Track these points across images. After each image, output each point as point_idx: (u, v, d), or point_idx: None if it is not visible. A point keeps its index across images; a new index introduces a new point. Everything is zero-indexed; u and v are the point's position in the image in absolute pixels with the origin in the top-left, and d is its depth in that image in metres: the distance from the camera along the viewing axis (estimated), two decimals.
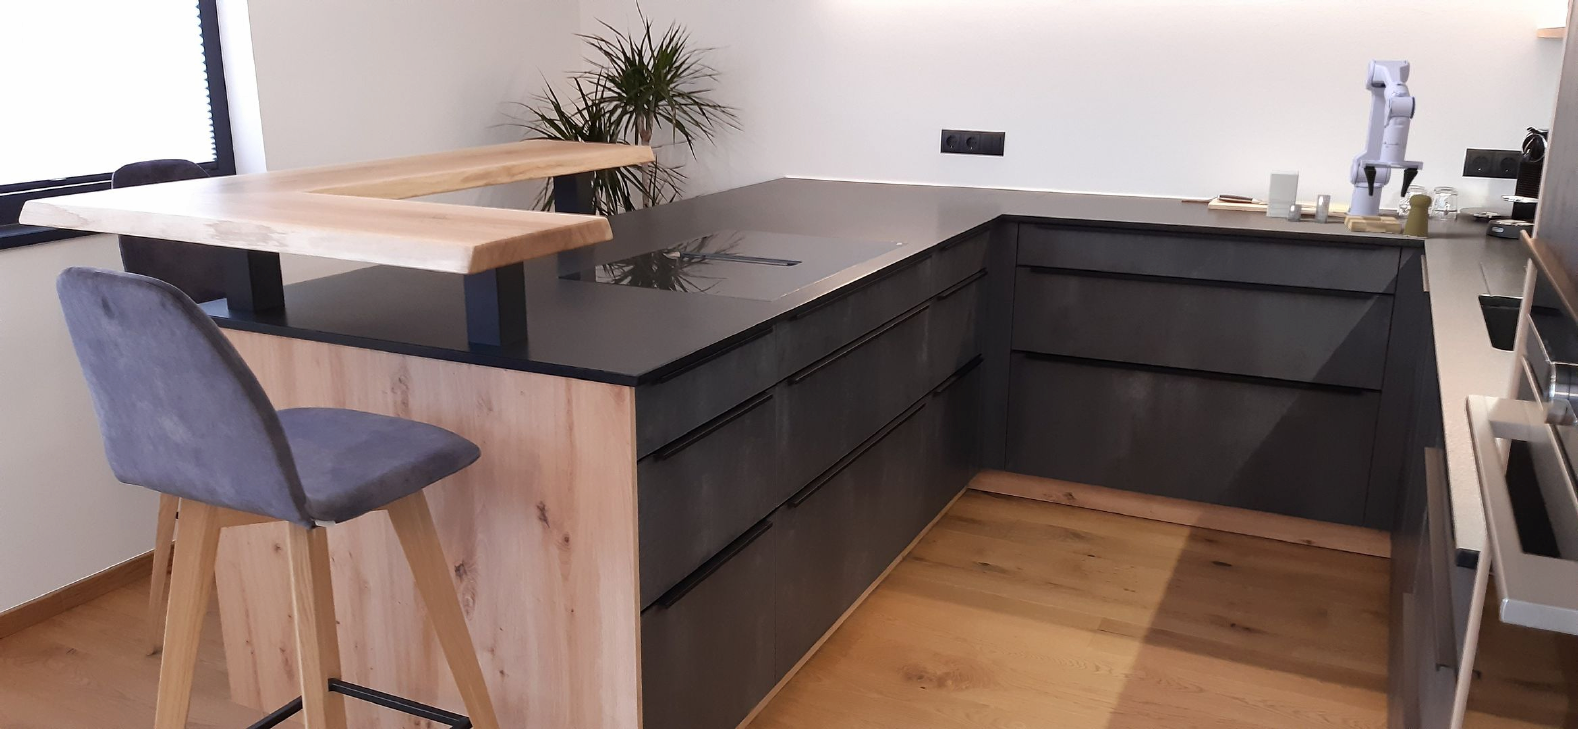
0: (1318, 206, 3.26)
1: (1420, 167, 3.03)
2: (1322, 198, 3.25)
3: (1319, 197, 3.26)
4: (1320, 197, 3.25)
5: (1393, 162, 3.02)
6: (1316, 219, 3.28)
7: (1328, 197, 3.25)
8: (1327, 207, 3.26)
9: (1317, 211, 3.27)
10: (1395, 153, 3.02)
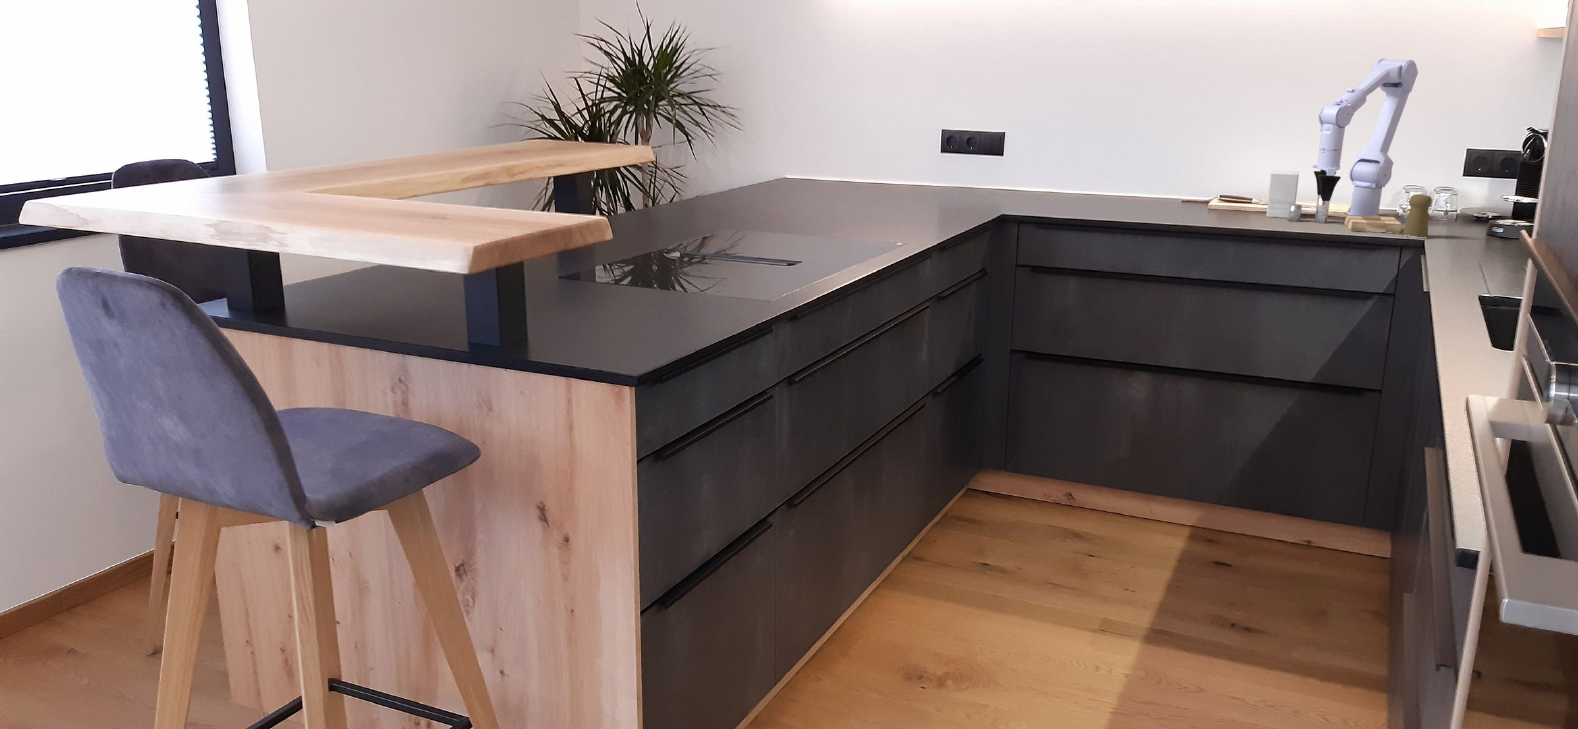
0: (1318, 206, 3.26)
1: (1326, 173, 3.18)
2: None
3: (1319, 197, 3.26)
4: (1320, 197, 3.25)
5: None
6: (1316, 219, 3.28)
7: None
8: (1327, 207, 3.26)
9: (1317, 211, 3.27)
10: (1318, 157, 3.24)
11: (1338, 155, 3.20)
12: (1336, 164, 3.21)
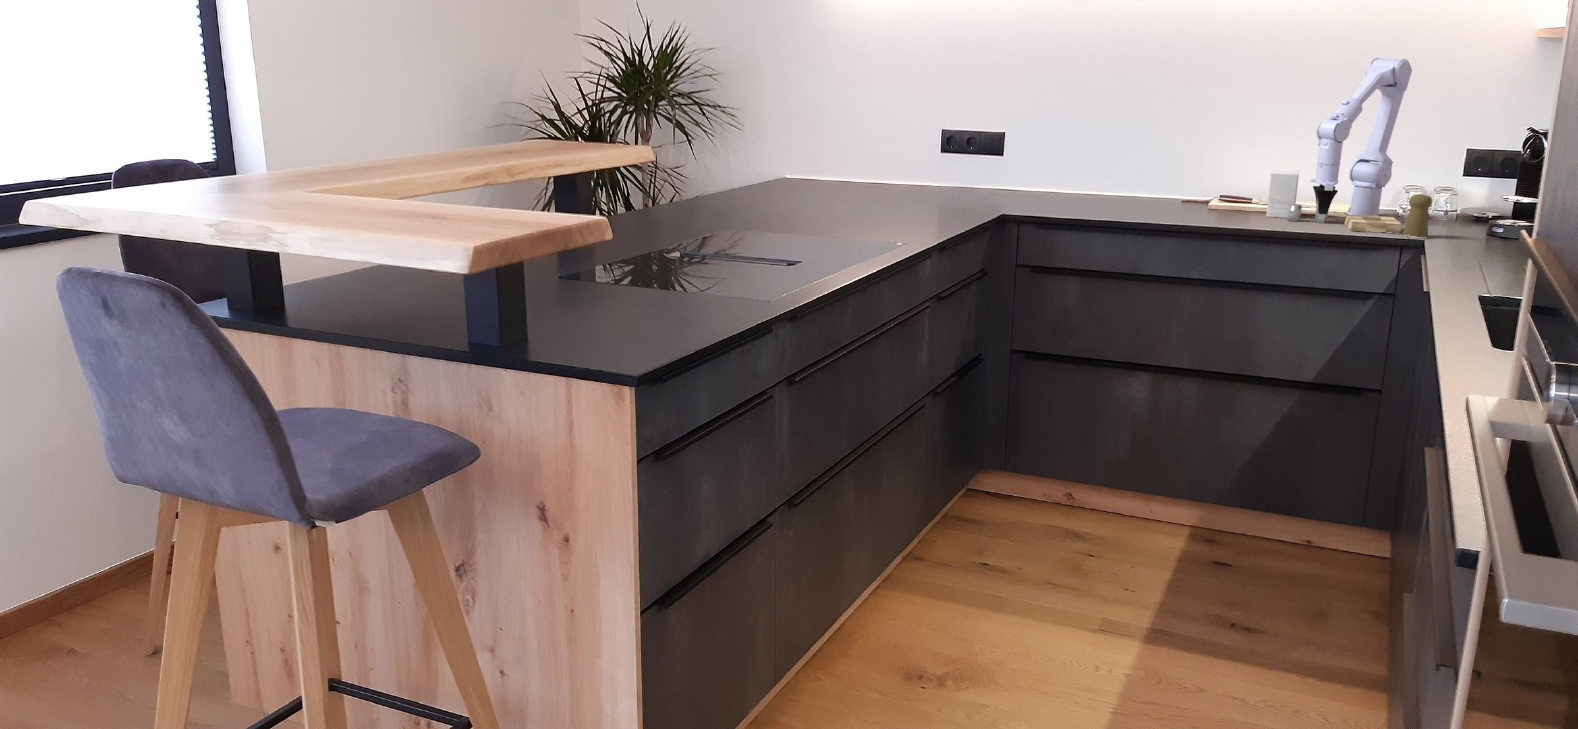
0: None
1: (1325, 187, 3.19)
2: None
3: None
4: None
5: (1312, 179, 3.26)
6: (1316, 219, 3.28)
7: None
8: None
9: (1317, 211, 3.27)
10: (1316, 171, 3.25)
11: (1336, 170, 3.22)
12: (1334, 178, 3.22)
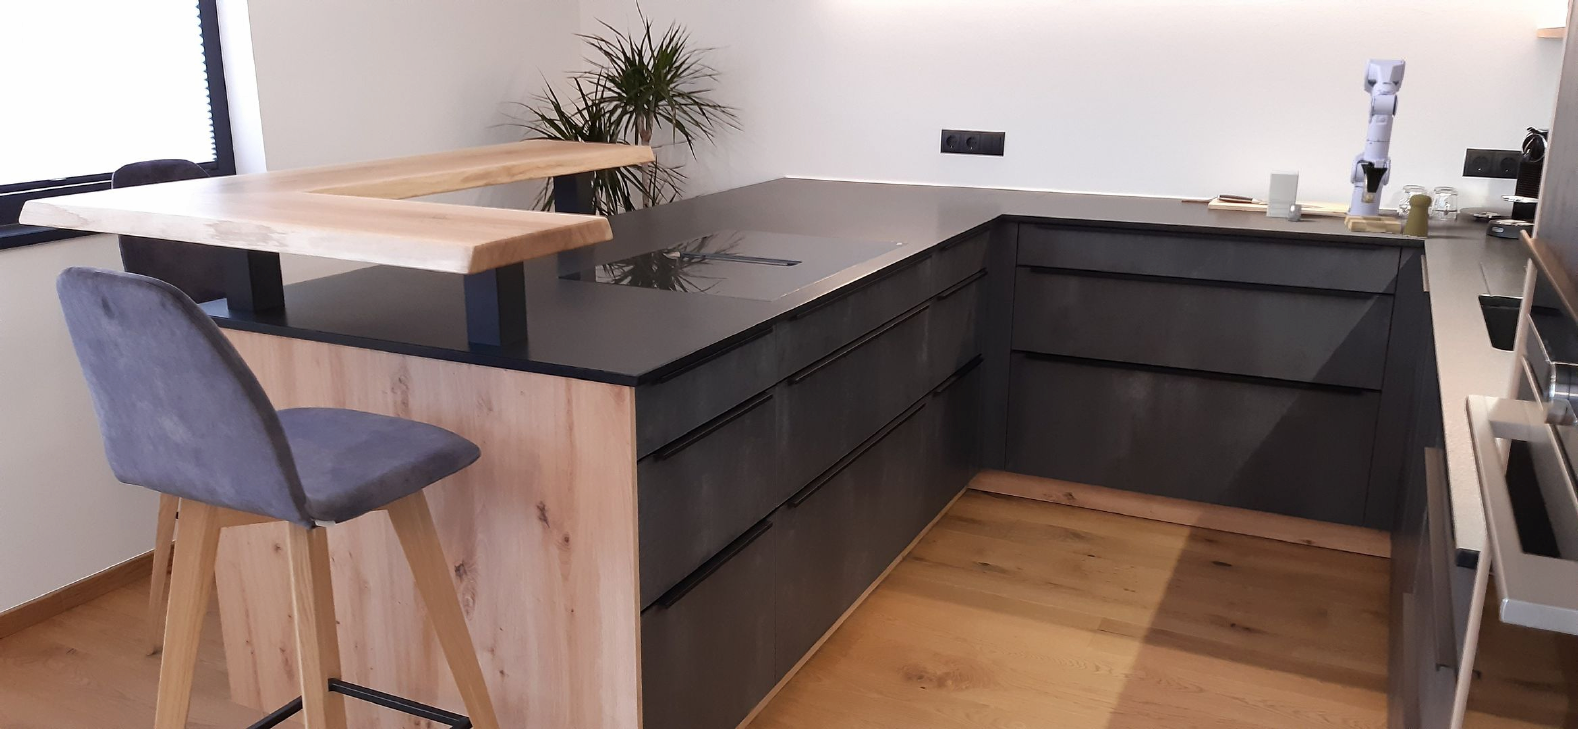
0: (1364, 185, 3.16)
1: (1374, 165, 3.09)
2: None
3: (1365, 176, 3.15)
4: (1366, 176, 3.15)
5: (1361, 156, 3.15)
6: (1362, 199, 3.17)
7: None
8: None
9: (1363, 191, 3.17)
10: (1365, 148, 3.14)
11: (1386, 146, 3.11)
12: (1384, 155, 3.11)
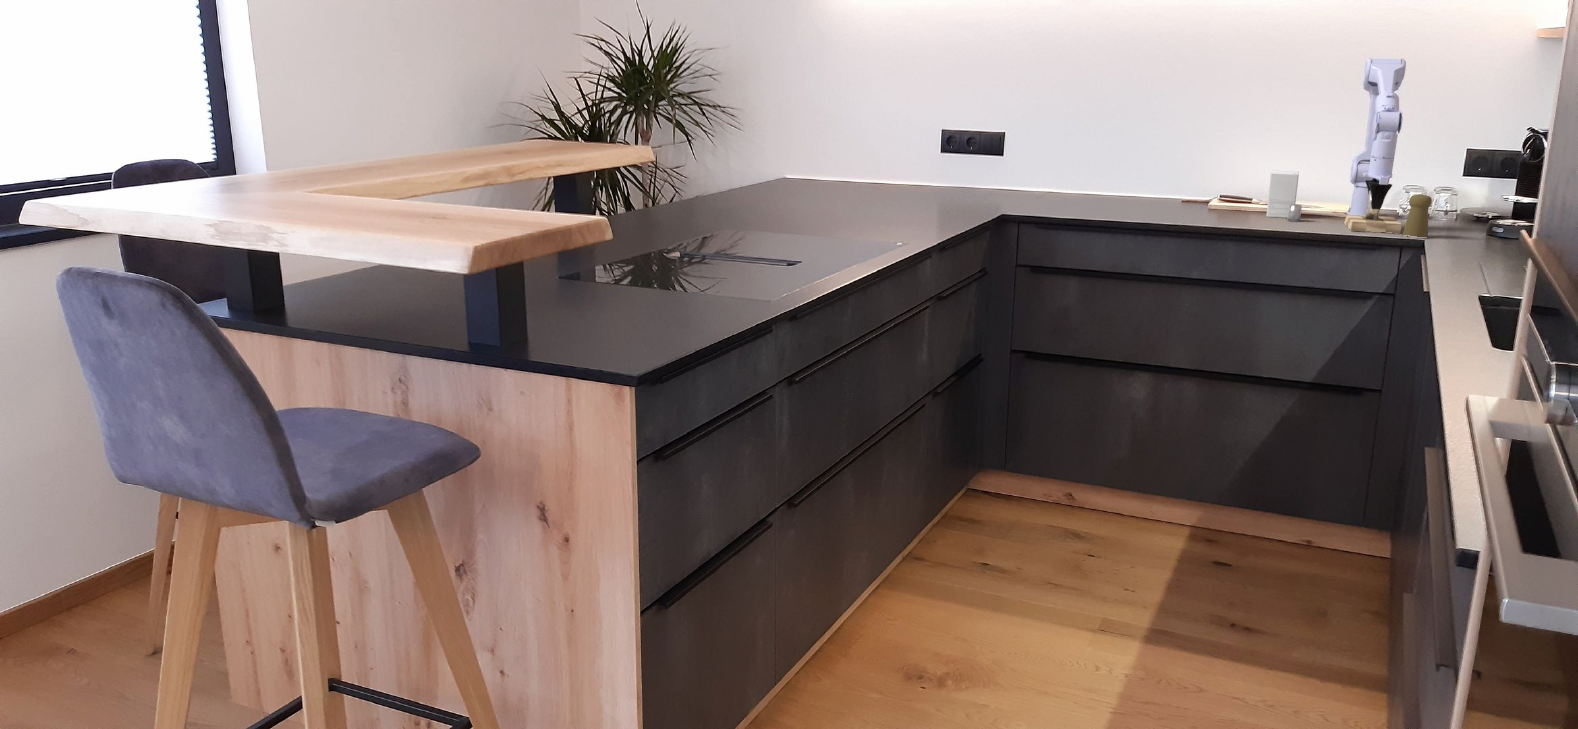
0: (1369, 202, 3.16)
1: (1379, 181, 3.09)
2: None
3: (1370, 192, 3.16)
4: None
5: (1365, 173, 3.15)
6: (1367, 215, 3.17)
7: None
8: None
9: (1367, 207, 3.17)
10: (1369, 165, 3.14)
11: (1390, 163, 3.11)
12: (1388, 172, 3.11)
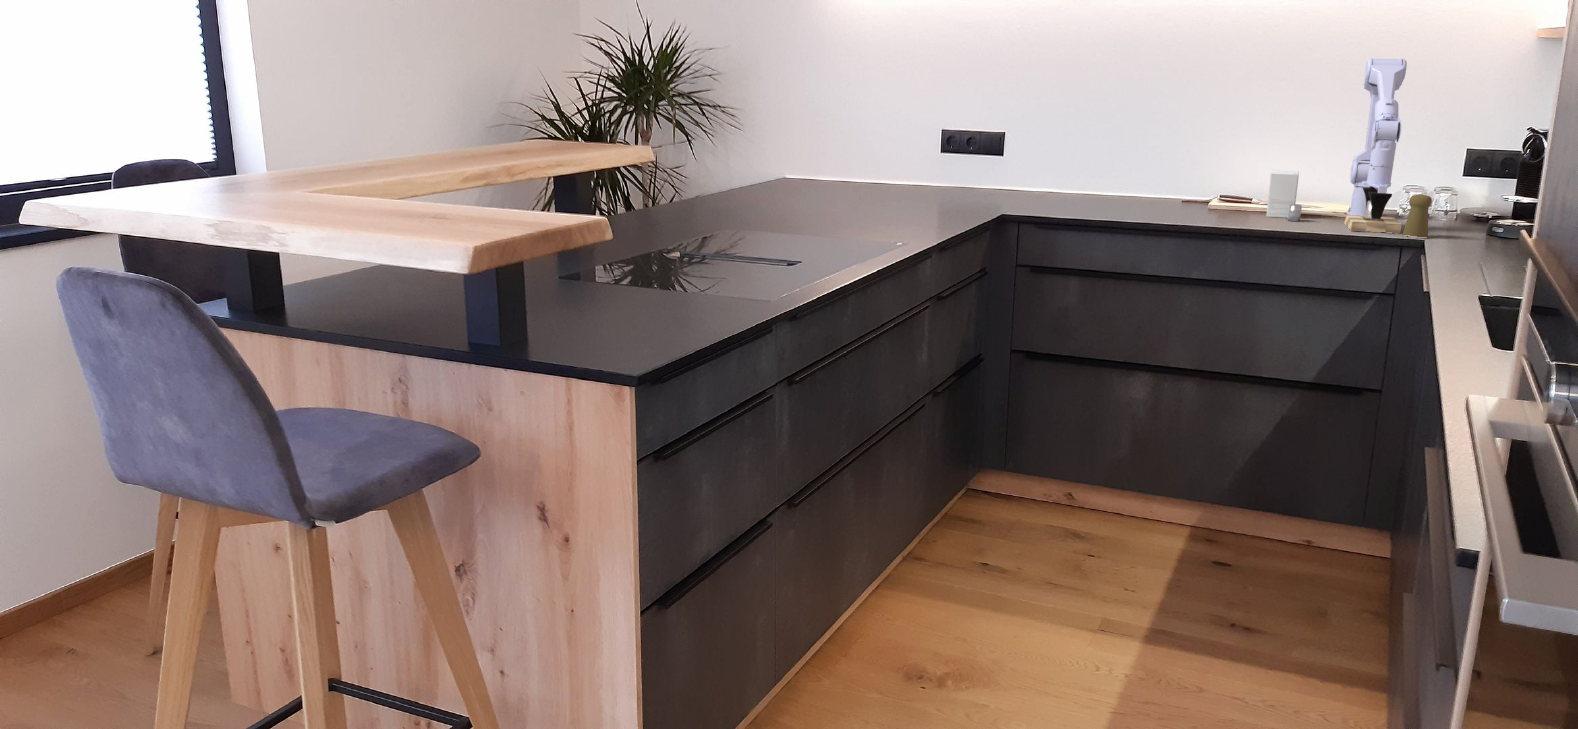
0: (1367, 212, 3.17)
1: (1378, 190, 3.09)
2: None
3: (1368, 203, 3.16)
4: (1369, 203, 3.16)
5: (1364, 181, 3.16)
6: None
7: None
8: None
9: (1366, 217, 3.18)
10: (1368, 173, 3.15)
11: (1389, 172, 3.12)
12: (1387, 181, 3.12)
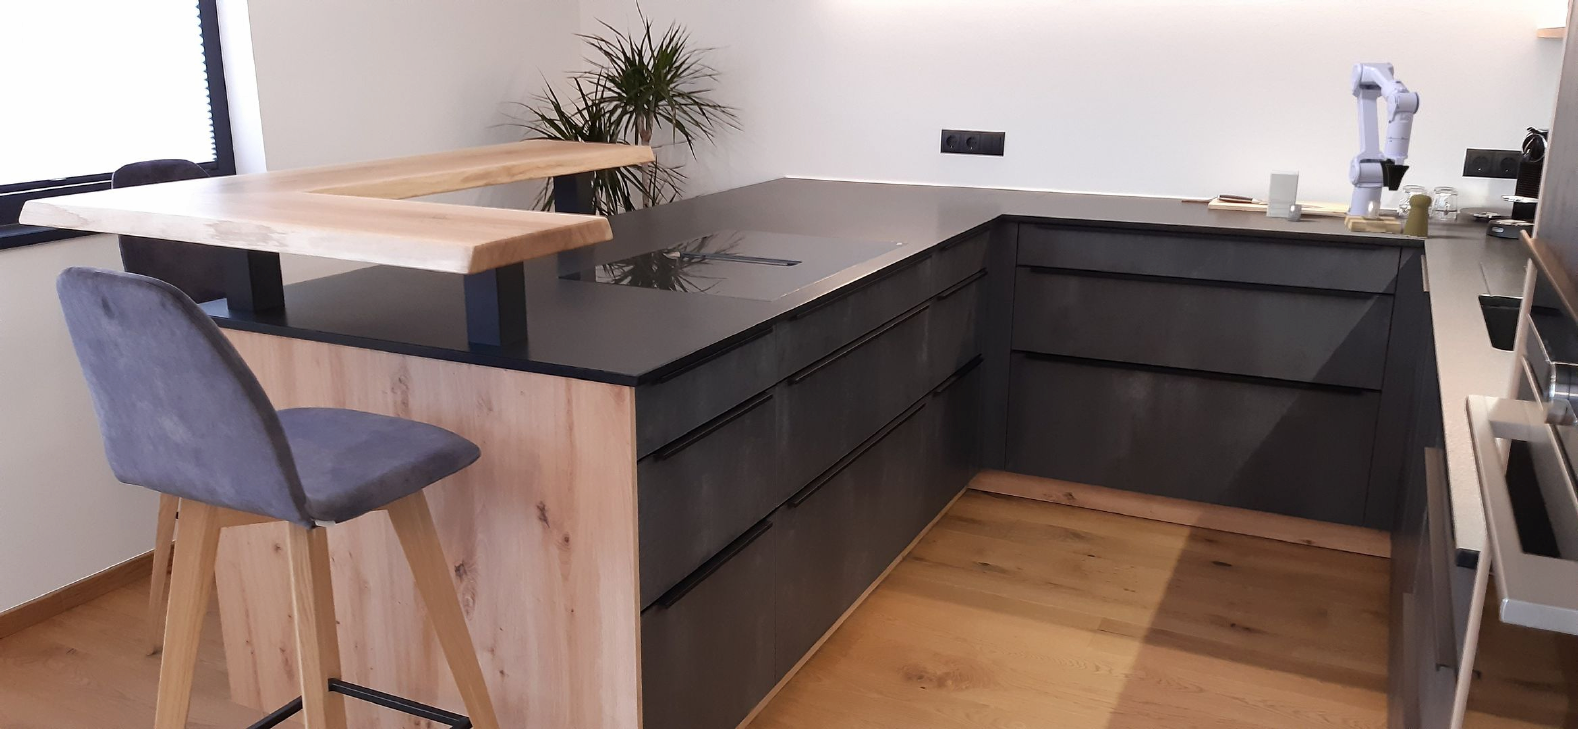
0: (1367, 212, 3.17)
1: (1395, 162, 3.11)
2: (1371, 204, 3.16)
3: (1368, 203, 3.16)
4: (1369, 203, 3.16)
5: (1381, 154, 3.17)
6: None
7: (1378, 203, 3.15)
8: (1377, 213, 3.16)
9: (1366, 217, 3.18)
10: (1385, 145, 3.16)
11: (1406, 144, 3.13)
12: (1404, 153, 3.14)
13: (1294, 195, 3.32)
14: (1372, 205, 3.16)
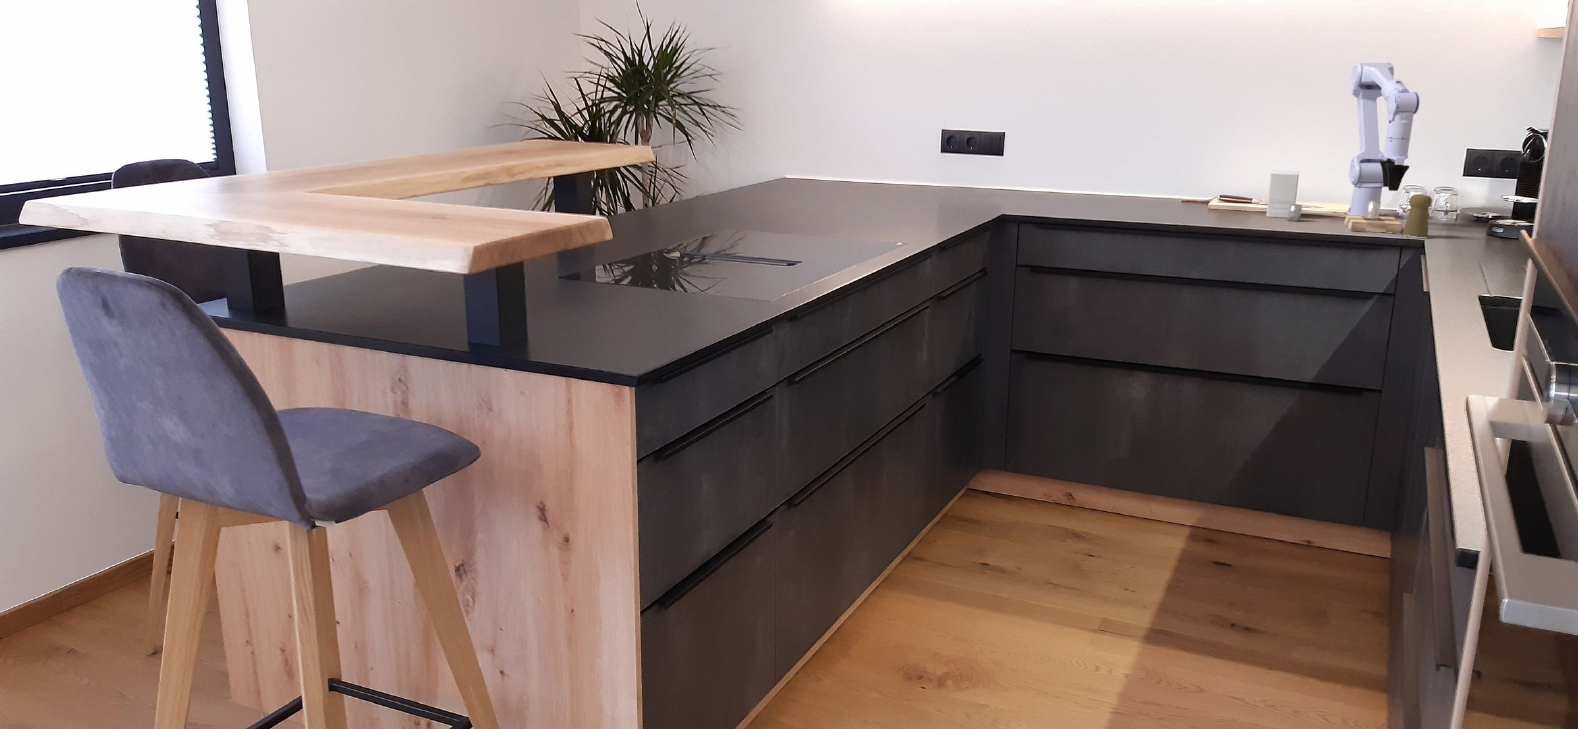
0: (1367, 212, 3.17)
1: (1395, 162, 3.11)
2: (1371, 204, 3.16)
3: (1368, 203, 3.16)
4: (1369, 203, 3.16)
5: (1381, 154, 3.17)
6: None
7: (1378, 203, 3.15)
8: (1377, 213, 3.16)
9: (1366, 217, 3.18)
10: (1385, 145, 3.16)
11: (1406, 144, 3.13)
12: (1404, 153, 3.14)
13: (1294, 195, 3.32)
14: (1372, 205, 3.16)
